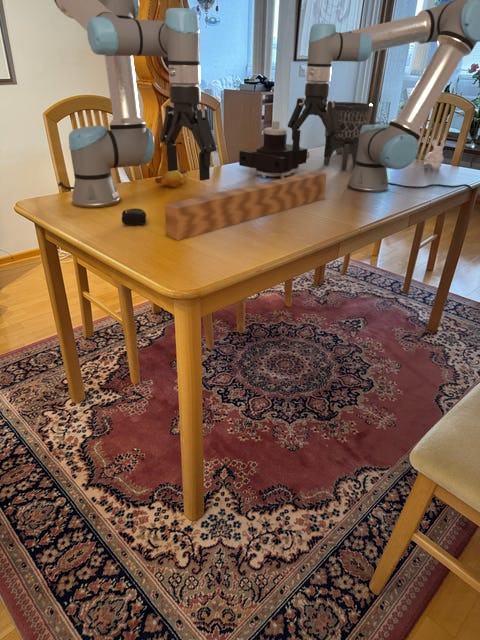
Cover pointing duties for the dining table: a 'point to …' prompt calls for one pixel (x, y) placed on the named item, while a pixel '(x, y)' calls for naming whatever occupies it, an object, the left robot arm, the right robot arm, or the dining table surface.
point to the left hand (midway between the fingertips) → (188, 175)
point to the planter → (349, 129)
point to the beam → (241, 204)
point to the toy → (173, 178)
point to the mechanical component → (274, 154)
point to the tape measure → (133, 216)
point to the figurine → (434, 156)
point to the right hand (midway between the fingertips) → (310, 153)
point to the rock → (341, 151)
